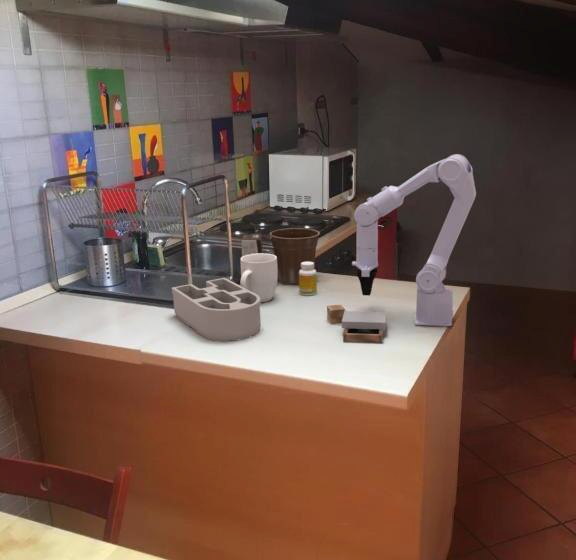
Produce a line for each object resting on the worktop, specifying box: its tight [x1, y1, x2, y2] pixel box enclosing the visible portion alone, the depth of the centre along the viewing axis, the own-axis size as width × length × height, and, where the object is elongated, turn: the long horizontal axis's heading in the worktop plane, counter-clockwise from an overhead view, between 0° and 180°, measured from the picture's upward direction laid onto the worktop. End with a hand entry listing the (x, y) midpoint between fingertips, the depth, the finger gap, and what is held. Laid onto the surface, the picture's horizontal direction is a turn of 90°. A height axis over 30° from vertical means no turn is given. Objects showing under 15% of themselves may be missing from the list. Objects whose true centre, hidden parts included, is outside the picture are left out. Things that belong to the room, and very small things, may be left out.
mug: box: [239, 252, 278, 303], centre depth 190 cm, size 15×11×13 cm
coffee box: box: [240, 233, 264, 257], centre depth 206 cm, size 9×6×16 cm
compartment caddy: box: [171, 277, 262, 342], centre depth 172 cm, size 17×28×9 cm, turn 31°
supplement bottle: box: [298, 262, 318, 296], centre depth 196 cm, size 5×5×10 cm
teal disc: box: [358, 329, 372, 333], centre depth 166 cm, size 3×3×1 cm
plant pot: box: [269, 227, 321, 286], centre depth 209 cm, size 16×16×16 cm
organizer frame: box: [342, 328, 384, 344], centre depth 164 cm, size 10×14×2 cm
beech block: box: [326, 304, 346, 325], centre depth 172 cm, size 4×4×4 cm
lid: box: [341, 310, 387, 330], centre depth 165 cm, size 11×8×2 cm
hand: (366, 294), depth 176 cm, fingers closed
